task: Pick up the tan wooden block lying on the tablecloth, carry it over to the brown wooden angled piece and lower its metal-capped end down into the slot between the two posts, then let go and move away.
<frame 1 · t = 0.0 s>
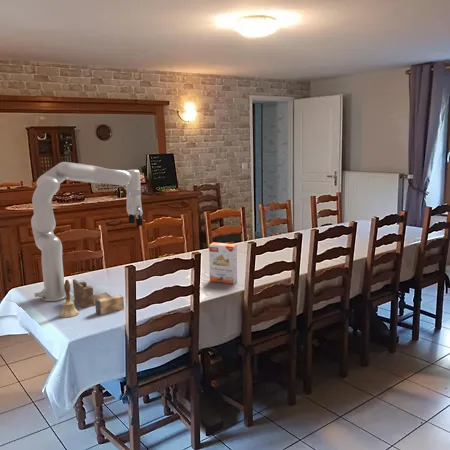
hand: (135, 224, 245), 31 cm above the table, tool pointing down, fingers open, 9 cm apart
hand bell: (69, 314, 204), on the table
cracker box: (223, 281, 246), on the table
tan wooden block: (110, 310, 207), on the table
brown wooden angled piece: (86, 302, 218), on the table
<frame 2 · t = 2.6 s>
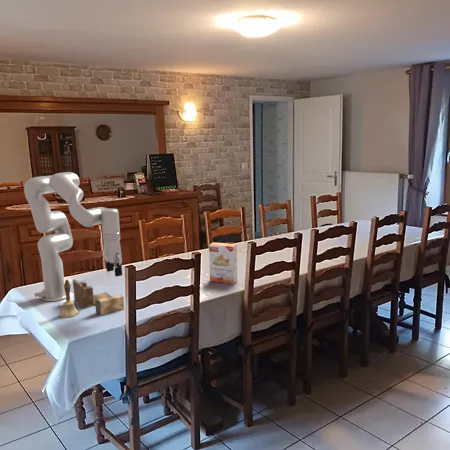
hand: (114, 273, 205), 17 cm above the table, tool pointing down, fingers open, 9 cm apart
nothing on the table moved.
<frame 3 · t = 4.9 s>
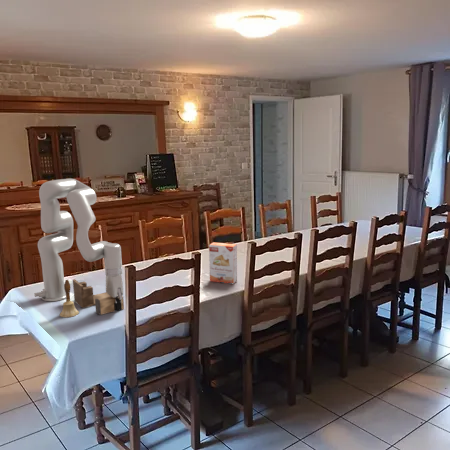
hand: (116, 308, 209), 0 cm above the table, tool pointing down, fingers closed on tan wooden block, 3 cm apart
tan wooden block: (110, 310, 207), on the table, touching gripper
everything else where it was.
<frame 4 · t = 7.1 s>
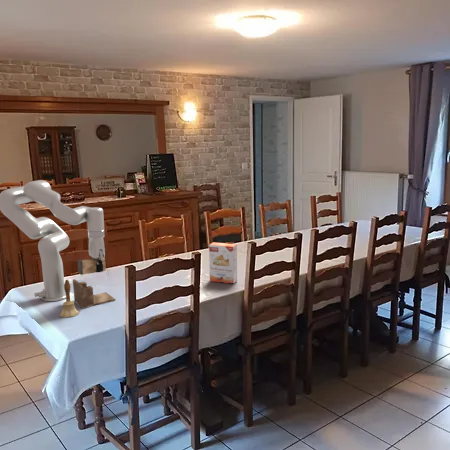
hand: (98, 270, 219), 15 cm above the table, tool pointing down, fingers closed on tan wooden block, 3 cm apart
tan wooden block: (92, 271, 217), point 15 cm above the table, touching gripper
everything else where it was.
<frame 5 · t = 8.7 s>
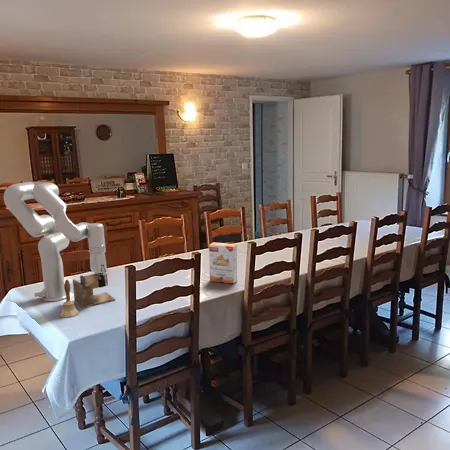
hand: (100, 285, 220), 7 cm above the table, tool pointing down, fingers closed on tan wooden block, 3 cm apart
tan wooden block: (94, 287, 219), point 7 cm above the table, touching gripper
everything else where it was.
when the fingers open (3 cm above the table, at t = 9.8 s): tan wooden block drops 2 cm, resting on brown wooden angled piece.
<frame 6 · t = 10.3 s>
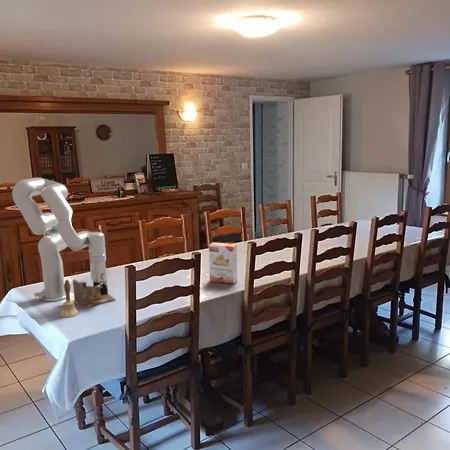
hand: (100, 292, 221), 4 cm above the table, tool pointing down, fingers open, 8 cm apart
tan wooden block: (95, 298, 220), point 1 cm above the table, touching brown wooden angled piece
everything else where it was.
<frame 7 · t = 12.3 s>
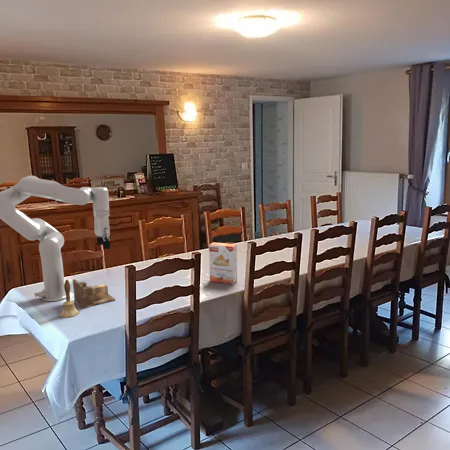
hand: (103, 246, 224), 25 cm above the table, tool pointing down, fingers open, 9 cm apart
nothing on the table moved.
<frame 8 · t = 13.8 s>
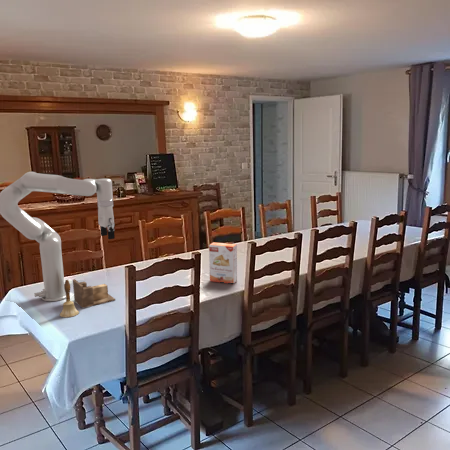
hand: (107, 237, 229), 28 cm above the table, tool pointing down, fingers open, 9 cm apart
nothing on the table moved.
at the end: tan wooden block 0.2 cm from the target spot on the brown wooden angled piece, point 0.8 cm above the brown wooden angled piece's base; tan wooden block tilted 0°; the gripper is holding nothing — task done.
